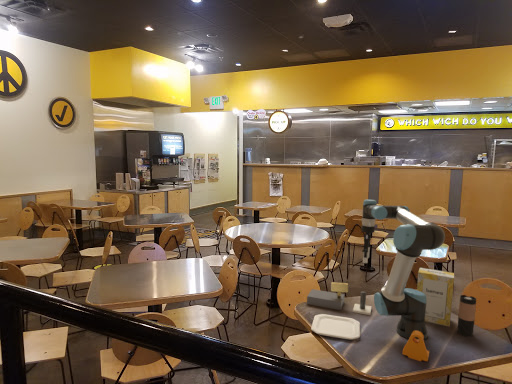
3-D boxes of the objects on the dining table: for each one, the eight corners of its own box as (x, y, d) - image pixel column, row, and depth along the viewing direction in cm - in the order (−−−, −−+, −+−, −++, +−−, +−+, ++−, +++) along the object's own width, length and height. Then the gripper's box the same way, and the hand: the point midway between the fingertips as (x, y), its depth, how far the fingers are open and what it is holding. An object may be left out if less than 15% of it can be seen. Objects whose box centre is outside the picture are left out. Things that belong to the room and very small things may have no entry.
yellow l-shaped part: (330, 297, 228) (331, 283, 227) (329, 291, 238) (330, 278, 237) (347, 298, 227) (348, 284, 226) (345, 293, 237) (346, 279, 236)
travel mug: (464, 337, 193) (468, 300, 191) (453, 330, 200) (456, 295, 198) (476, 336, 195) (480, 299, 193) (464, 329, 202) (468, 294, 201)
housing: (340, 310, 222) (341, 302, 222) (306, 304, 229) (307, 296, 229) (343, 302, 235) (344, 294, 235) (311, 296, 242) (312, 289, 242)
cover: (370, 315, 216) (371, 296, 215) (352, 312, 220) (354, 293, 219) (371, 308, 227) (372, 290, 226) (354, 305, 230) (355, 288, 229)
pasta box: (414, 318, 214) (418, 272, 211) (416, 312, 223) (419, 267, 220) (449, 326, 205) (454, 277, 203) (449, 319, 215) (454, 273, 212)
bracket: (428, 356, 173) (431, 331, 172) (427, 363, 167) (429, 337, 166) (404, 349, 178) (406, 325, 177) (402, 356, 172) (404, 331, 171)
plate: (359, 323, 206) (359, 319, 206) (359, 344, 182) (359, 339, 182) (315, 316, 213) (315, 312, 212) (309, 335, 189) (310, 331, 189)
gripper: (363, 221, 233) (361, 254, 235) (359, 228, 210) (357, 264, 212) (376, 222, 231) (373, 255, 233) (373, 229, 207) (371, 266, 209)
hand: (365, 260), depth 222 cm, fingers open, 13 cm apart
